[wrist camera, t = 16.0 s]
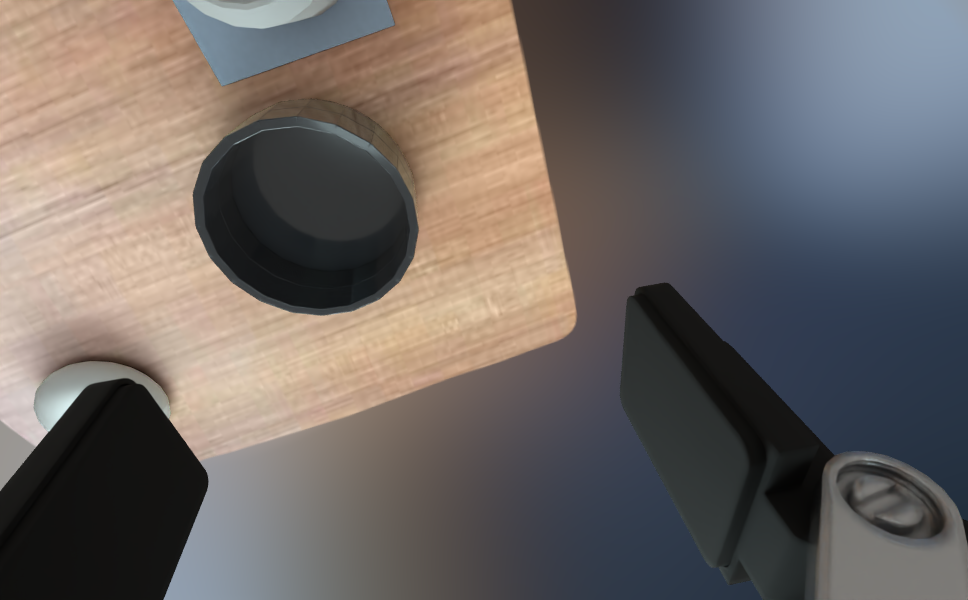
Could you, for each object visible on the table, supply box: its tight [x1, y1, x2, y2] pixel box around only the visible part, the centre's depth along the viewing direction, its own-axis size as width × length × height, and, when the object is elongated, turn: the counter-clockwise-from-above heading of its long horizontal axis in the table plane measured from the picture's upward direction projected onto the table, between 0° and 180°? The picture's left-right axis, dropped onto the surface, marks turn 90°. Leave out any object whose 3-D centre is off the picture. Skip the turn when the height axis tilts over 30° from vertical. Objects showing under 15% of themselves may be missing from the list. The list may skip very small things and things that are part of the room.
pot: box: [193, 99, 419, 316], centre depth 33 cm, size 14×14×6 cm
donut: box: [34, 361, 171, 432], centre depth 41 cm, size 10×4×10 cm
